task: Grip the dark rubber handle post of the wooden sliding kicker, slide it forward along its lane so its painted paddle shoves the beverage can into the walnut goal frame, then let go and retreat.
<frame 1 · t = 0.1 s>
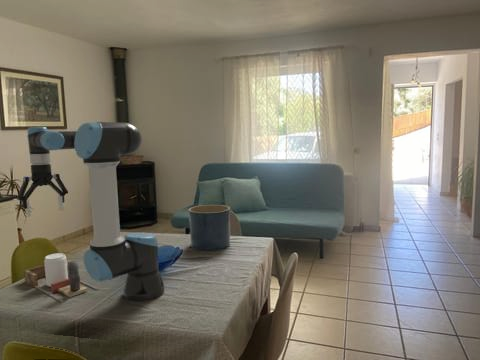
hand: (45, 213, 157), 28 cm above the table, fingers open, 13 cm apart
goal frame: (47, 278, 157), on the table
pitch lines: (66, 288, 147), on the table
planter: (210, 245, 200), on the table
rod slider: (70, 275, 143), point 6 cm above the table, slide at 0.0 cm
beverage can: (57, 284, 151), on the table
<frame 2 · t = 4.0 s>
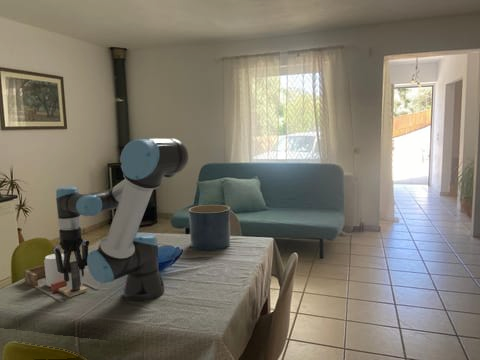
hand: (75, 286, 142), 3 cm above the table, fingers closed on rod slider, 3 cm apart
rod slider: (70, 275, 143), point 6 cm above the table, slide at 0.0 cm, touching gripper
everything else where it was.
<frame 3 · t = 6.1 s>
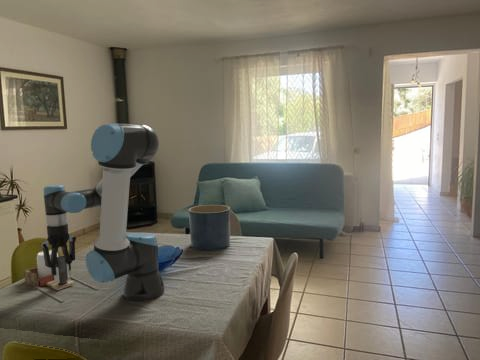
hand: (62, 280, 148), 3 cm above the table, fingers closed on rod slider, 3 cm apart
rod slider: (58, 270, 149), point 6 cm above the table, slide at 10.2 cm, touching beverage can, gripper
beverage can: (49, 280, 156), on the table, touching rod slider
everything else where it was.
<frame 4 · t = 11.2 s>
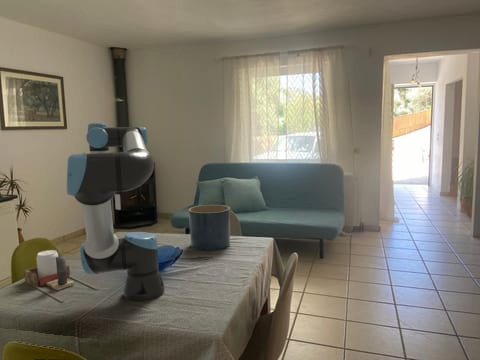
hand: (103, 212, 153), 29 cm above the table, fingers open, 13 cm apart
rod slider: (58, 270, 149), point 6 cm above the table, slide at 10.3 cm
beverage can: (49, 280, 156), on the table
everything else where it was.
at the end: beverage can inside the target area (1.7 cm from its centre), on the table; rod slider slide at 10.3 cm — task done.
